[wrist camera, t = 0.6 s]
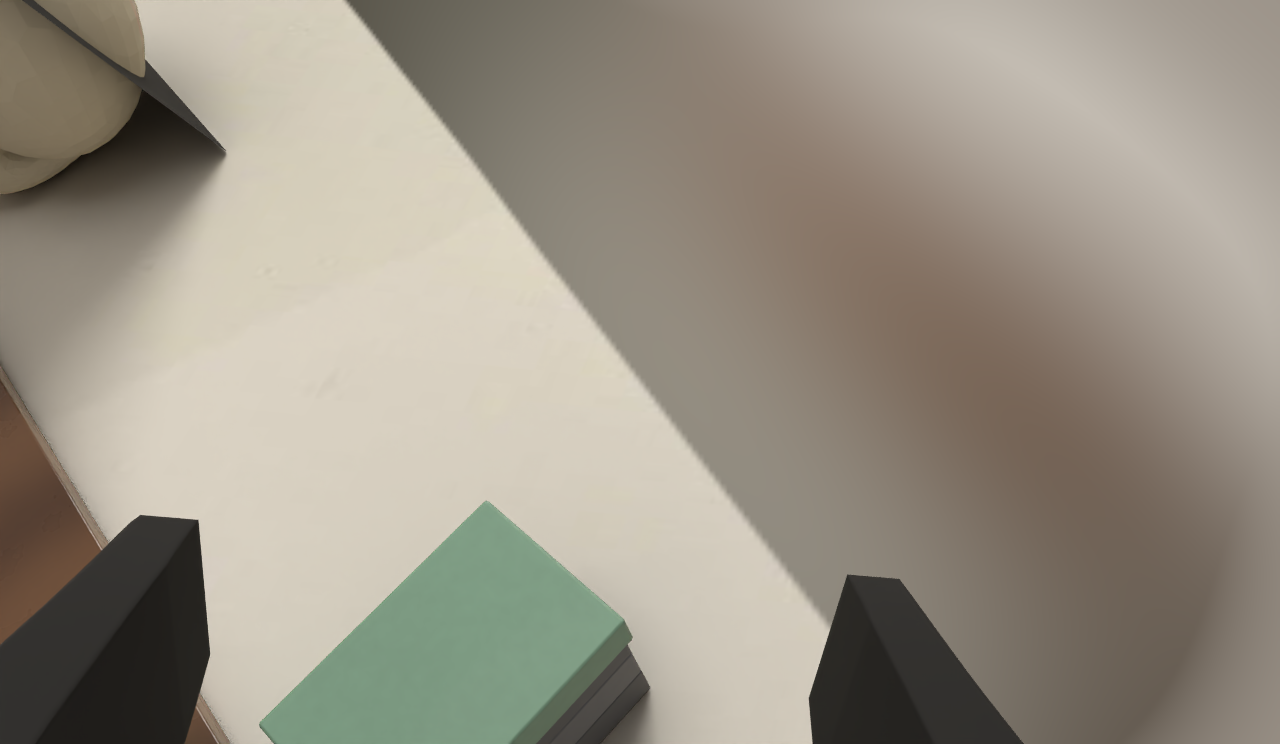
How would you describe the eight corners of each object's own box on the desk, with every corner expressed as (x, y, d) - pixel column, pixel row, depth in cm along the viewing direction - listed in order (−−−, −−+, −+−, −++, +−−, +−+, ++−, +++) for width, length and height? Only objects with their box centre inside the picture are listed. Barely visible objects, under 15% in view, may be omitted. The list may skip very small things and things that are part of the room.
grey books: (650, 687, 31) (622, 633, 27) (458, 901, 29) (401, 873, 25) (543, 591, 33) (504, 528, 29) (356, 785, 30) (289, 743, 27)
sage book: (634, 638, 27) (625, 620, 26) (406, 886, 25) (386, 877, 24) (498, 519, 29) (485, 498, 28) (279, 737, 27) (256, 723, 26)
